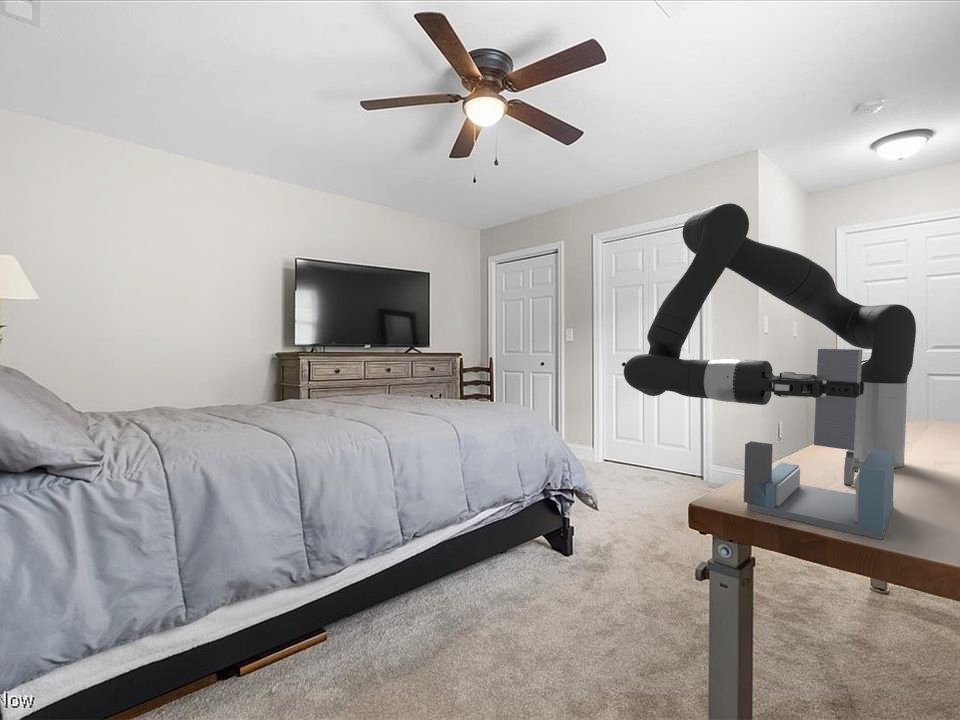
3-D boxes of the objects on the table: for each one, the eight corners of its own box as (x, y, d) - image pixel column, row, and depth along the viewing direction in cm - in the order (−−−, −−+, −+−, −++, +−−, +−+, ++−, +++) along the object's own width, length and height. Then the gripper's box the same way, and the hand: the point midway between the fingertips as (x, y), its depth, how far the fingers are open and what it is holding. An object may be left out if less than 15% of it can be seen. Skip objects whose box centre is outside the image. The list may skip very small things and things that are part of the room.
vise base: (775, 485, 86) (777, 435, 86) (893, 507, 75) (895, 450, 75) (747, 509, 74) (748, 451, 74) (882, 539, 63) (884, 471, 63)
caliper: (851, 487, 86) (852, 453, 86) (843, 486, 87) (844, 452, 87) (871, 467, 100) (872, 437, 100) (864, 466, 101) (866, 436, 101)
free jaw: (771, 480, 86) (772, 430, 85) (801, 485, 83) (802, 433, 82) (743, 502, 74) (745, 444, 74) (777, 509, 71) (778, 448, 71)
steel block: (818, 441, 78) (822, 348, 77) (857, 446, 75) (862, 349, 74) (813, 445, 75) (817, 349, 75) (854, 450, 72) (858, 349, 71)
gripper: (724, 361, 79) (856, 366, 67) (750, 358, 90) (868, 362, 78) (723, 406, 80) (853, 419, 68) (749, 398, 90) (866, 409, 78)
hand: (861, 389), depth 73 cm, fingers closed on steel block, 4 cm apart
